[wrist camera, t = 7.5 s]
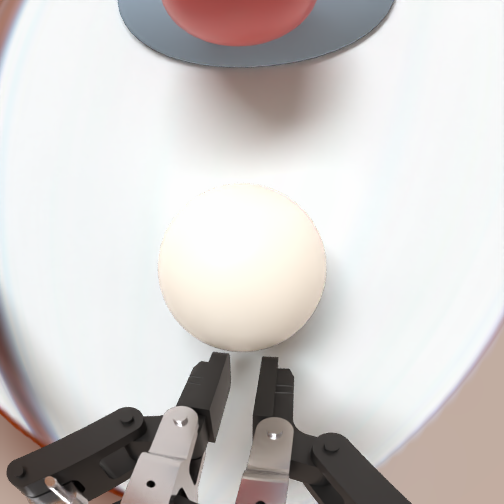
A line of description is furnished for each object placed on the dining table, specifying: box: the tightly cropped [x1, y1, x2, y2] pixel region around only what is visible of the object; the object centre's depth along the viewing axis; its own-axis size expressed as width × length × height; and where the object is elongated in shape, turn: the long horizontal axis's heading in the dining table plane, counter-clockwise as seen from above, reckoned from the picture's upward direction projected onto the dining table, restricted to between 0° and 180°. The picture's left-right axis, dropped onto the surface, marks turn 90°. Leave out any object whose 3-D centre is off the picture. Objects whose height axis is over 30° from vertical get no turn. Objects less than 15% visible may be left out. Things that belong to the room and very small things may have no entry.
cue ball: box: [158, 183, 326, 352], centre depth 10 cm, size 6×6×6 cm
